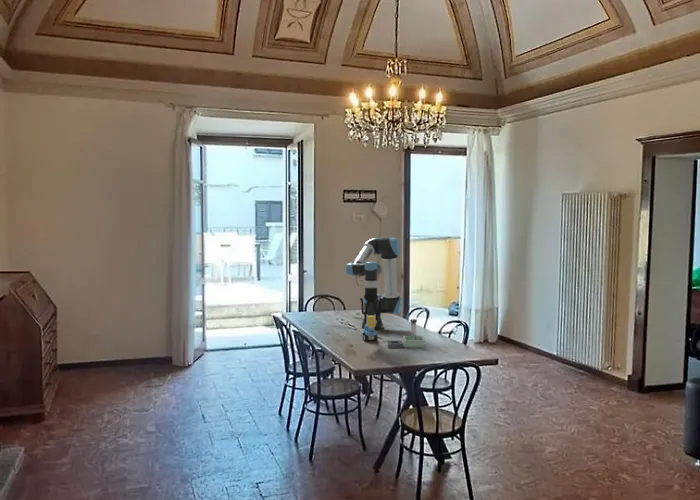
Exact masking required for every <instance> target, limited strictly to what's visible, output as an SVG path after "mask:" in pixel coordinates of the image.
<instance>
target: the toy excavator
mask: <svg viewBox="0 0 700 500" xmlns="http://www.w3.org/2000/svg"><path fill="white" fill-rule="evenodd" d="M376 323H377V320H376ZM374 328H375V327H368V326H367V324H366V325H365V328H364V329H363V332H362V333H361V339H362V340H363V341H364V342H368V341H374V342H375V341H378V340H379V339H378V338H379V337H378V332H377V331H376V329H374Z"/></svg>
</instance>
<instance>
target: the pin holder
mask: <svg viewBox="0 0 700 500" xmlns="http://www.w3.org/2000/svg"><path fill="white" fill-rule="evenodd" d="M386 343H387V344H386V345H387V349H403V348H404V344H403V340H387V341H386Z"/></svg>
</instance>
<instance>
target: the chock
mask: <svg viewBox="0 0 700 500" xmlns="http://www.w3.org/2000/svg"><path fill="white" fill-rule="evenodd" d="M368 327H375V317H374V316H368Z"/></svg>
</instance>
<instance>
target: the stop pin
mask: <svg viewBox="0 0 700 500" xmlns="http://www.w3.org/2000/svg"><path fill="white" fill-rule="evenodd" d="M409 320H410V336H411V340H416V336H417V322H418V321H417V319H415V318H412V319H409Z"/></svg>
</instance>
